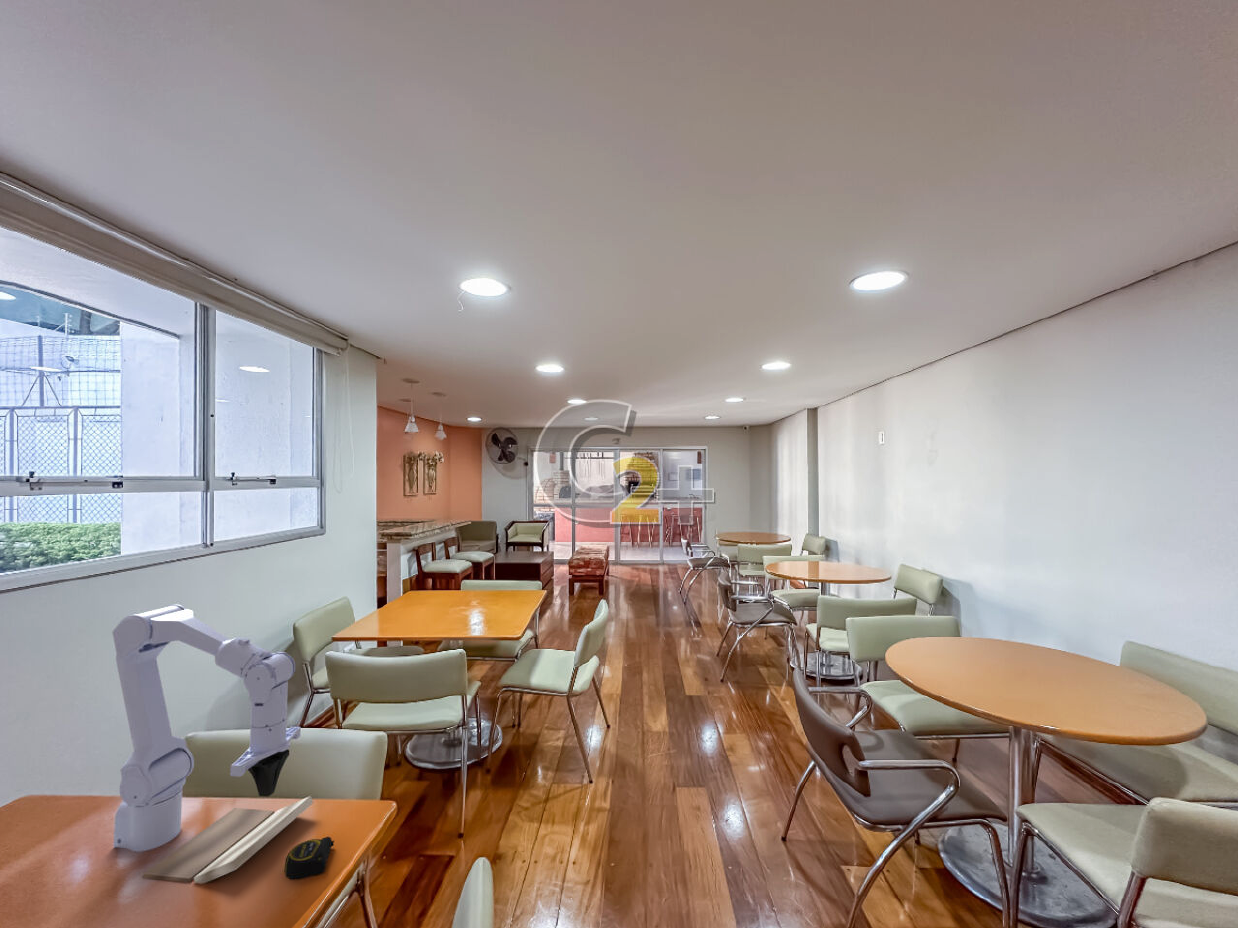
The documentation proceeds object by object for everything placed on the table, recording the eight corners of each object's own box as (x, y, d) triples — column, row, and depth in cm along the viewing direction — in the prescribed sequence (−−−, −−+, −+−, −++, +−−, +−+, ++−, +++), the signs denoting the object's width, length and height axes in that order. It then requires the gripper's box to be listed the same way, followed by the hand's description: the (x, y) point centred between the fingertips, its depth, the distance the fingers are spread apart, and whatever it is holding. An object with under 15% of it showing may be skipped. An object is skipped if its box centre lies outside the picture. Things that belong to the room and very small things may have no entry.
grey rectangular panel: (142, 882, 86) (143, 873, 86) (234, 815, 104) (234, 807, 104) (189, 887, 85) (189, 878, 85) (274, 818, 103) (274, 810, 103)
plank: (194, 887, 85) (191, 878, 85) (278, 818, 102) (275, 811, 103) (236, 869, 84) (232, 860, 84) (313, 802, 102) (310, 795, 102)
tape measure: (324, 880, 86) (324, 858, 87) (278, 890, 84) (279, 867, 84) (333, 853, 93) (334, 832, 93) (291, 861, 91) (292, 840, 91)
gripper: (257, 740, 88) (254, 820, 88) (315, 705, 103) (313, 773, 102) (220, 738, 89) (217, 817, 88) (283, 704, 103) (281, 771, 103)
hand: (266, 794), depth 95 cm, fingers closed
